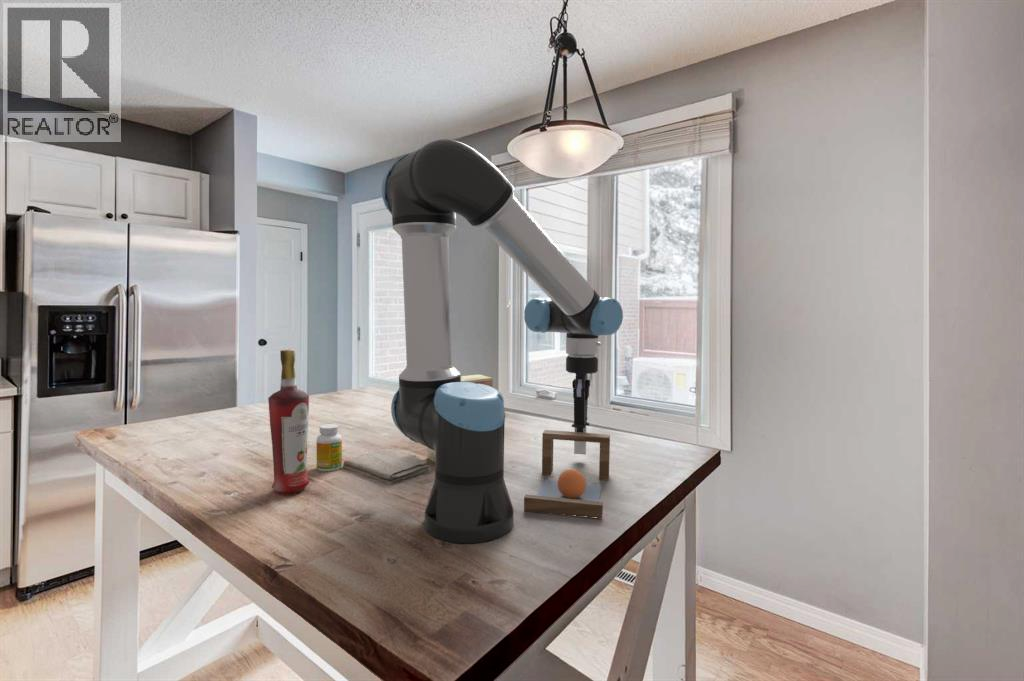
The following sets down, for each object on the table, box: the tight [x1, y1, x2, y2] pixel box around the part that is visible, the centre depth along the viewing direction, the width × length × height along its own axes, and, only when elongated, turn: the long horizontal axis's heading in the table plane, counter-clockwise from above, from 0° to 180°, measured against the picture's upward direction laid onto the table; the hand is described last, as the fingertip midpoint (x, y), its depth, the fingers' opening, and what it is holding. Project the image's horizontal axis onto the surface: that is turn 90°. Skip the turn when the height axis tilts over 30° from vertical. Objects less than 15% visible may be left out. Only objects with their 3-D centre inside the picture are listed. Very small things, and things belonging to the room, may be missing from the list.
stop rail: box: [523, 493, 604, 519], centre depth 89 cm, size 2×14×2 cm, turn 77°
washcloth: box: [342, 448, 431, 485], centre depth 112 cm, size 12×18×3 cm, turn 53°
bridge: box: [541, 429, 611, 480], centre depth 109 cm, size 3×14×9 cm, turn 76°
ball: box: [557, 468, 587, 499], centre depth 96 cm, size 6×6×6 cm
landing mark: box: [536, 479, 603, 502], centre depth 98 cm, size 12×12×1 cm
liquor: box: [267, 349, 310, 496], centre depth 97 cm, size 7×7×28 cm
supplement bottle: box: [315, 423, 343, 473], centre depth 112 cm, size 5×5×10 cm
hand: (580, 453), depth 119 cm, fingers closed
